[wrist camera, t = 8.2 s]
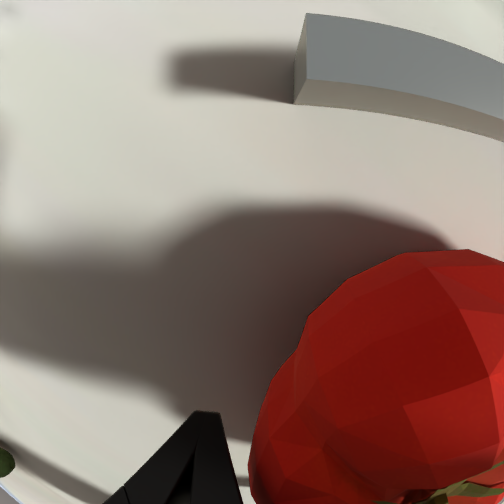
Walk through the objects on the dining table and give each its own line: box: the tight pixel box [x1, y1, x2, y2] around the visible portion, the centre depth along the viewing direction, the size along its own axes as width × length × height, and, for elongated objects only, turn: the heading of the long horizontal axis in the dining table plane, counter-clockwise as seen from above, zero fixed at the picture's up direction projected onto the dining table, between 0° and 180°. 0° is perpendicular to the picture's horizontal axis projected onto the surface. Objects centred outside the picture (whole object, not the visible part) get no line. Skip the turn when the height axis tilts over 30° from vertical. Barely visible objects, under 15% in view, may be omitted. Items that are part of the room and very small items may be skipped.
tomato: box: [248, 249, 504, 504], centre depth 7 cm, size 10×11×6 cm
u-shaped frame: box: [294, 13, 504, 504], centre depth 8 cm, size 14×19×4 cm
